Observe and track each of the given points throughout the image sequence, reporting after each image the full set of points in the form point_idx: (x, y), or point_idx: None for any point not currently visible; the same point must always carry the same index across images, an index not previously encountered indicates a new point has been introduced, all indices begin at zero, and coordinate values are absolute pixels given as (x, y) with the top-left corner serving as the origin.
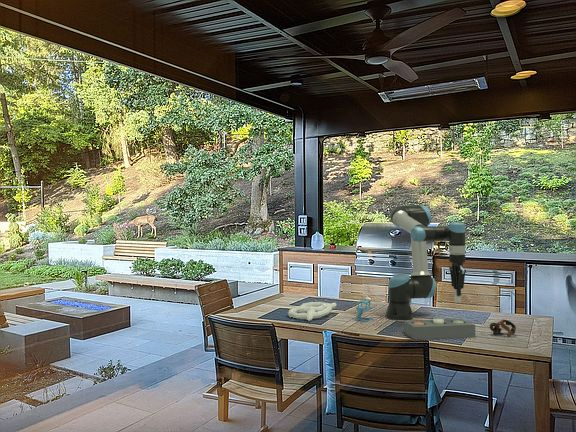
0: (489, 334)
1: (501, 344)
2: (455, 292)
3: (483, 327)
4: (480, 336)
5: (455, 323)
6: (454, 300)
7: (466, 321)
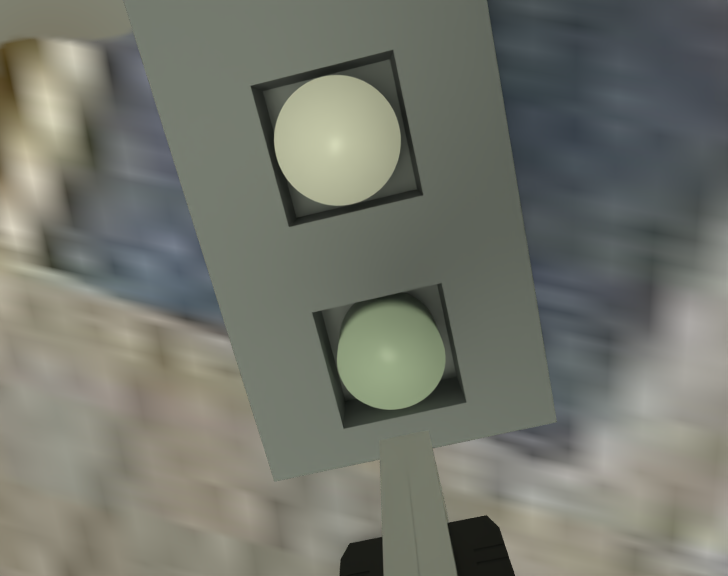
0: None
1: (105, 539)
2: (391, 557)
3: (626, 556)
4: None
5: (310, 314)
6: (427, 445)
7: None
